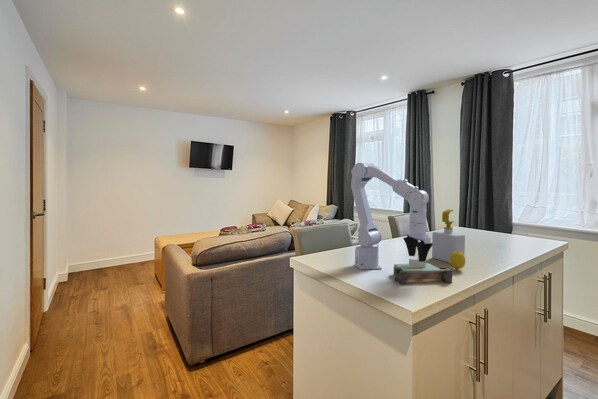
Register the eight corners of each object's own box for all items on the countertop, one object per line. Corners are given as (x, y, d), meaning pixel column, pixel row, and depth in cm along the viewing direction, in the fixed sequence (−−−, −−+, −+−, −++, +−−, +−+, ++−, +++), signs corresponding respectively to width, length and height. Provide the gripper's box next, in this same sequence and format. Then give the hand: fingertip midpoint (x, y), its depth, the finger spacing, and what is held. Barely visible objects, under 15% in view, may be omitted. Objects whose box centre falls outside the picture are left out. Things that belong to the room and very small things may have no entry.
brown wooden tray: (400, 284, 98) (400, 272, 97) (387, 274, 109) (387, 263, 109) (451, 282, 99) (452, 270, 99) (433, 272, 111) (434, 261, 110)
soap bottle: (464, 263, 124) (466, 210, 123) (454, 264, 122) (455, 211, 120) (441, 256, 135) (442, 208, 134) (431, 258, 133) (432, 208, 132)
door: (401, 274, 99) (401, 263, 99) (390, 266, 109) (390, 256, 109) (447, 273, 101) (447, 262, 101) (432, 265, 110) (432, 255, 110)
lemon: (446, 268, 117) (447, 249, 116) (459, 267, 117) (459, 249, 117) (455, 272, 111) (455, 252, 111) (468, 272, 112) (468, 252, 111)
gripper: (439, 225, 97) (438, 263, 98) (418, 219, 112) (417, 253, 113) (420, 225, 97) (419, 264, 98) (401, 220, 111) (400, 253, 112)
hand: (416, 258), depth 105 cm, fingers open, 7 cm apart
